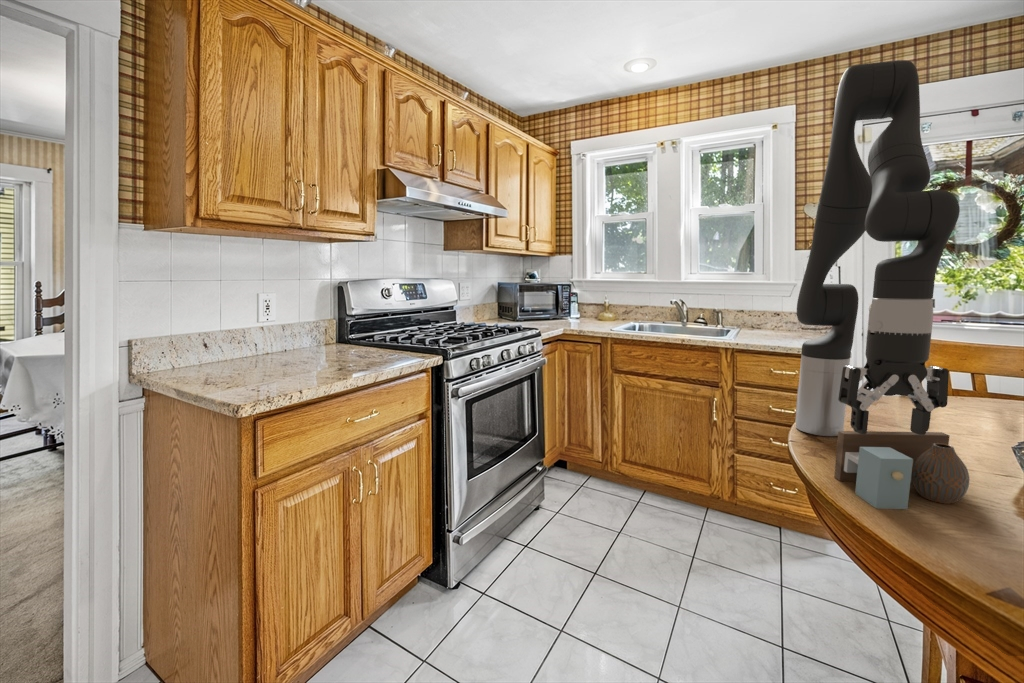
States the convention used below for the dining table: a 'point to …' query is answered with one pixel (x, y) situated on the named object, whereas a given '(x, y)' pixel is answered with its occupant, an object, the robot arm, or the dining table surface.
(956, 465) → the vase
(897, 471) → the cabinet
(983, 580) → the dining table surface
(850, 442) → the wall board
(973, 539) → the dining table surface
